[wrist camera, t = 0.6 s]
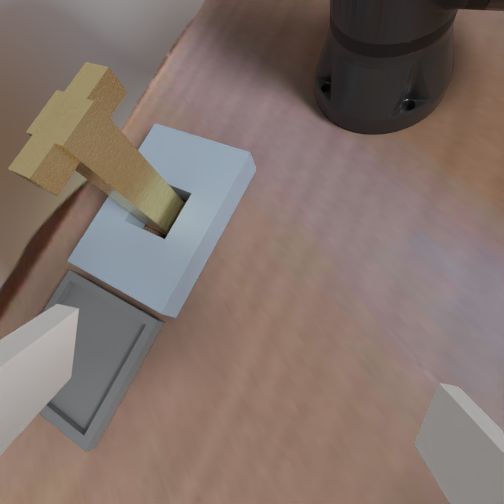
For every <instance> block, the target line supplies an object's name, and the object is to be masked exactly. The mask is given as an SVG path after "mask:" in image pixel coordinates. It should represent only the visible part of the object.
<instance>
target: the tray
mask: <svg viewBox="0 0 504 504" xmlns="http://www.w3.org/2000/svg"><path fill="white" fill-rule="evenodd" d="M56 304H60V305H65V306H70V307H75V308H79V313H78V322H77V331H76V340H75V349H74V357H73V366H72V375H71V378H70V379H69V380H68V382H67V383H66V384H65V385H64V386H63V387H62V388H61V389H60V390H59V391H58V393H57V394H56V395H55V396H54V397H53V398H52V399H51V400H50V401H49V402H48V403H47V405H46V406H45V407H44V408H43V409H42V410H41V411H40V412H39V413H40V414H41V415H42V416H43V417H45V418H46V419H47V420H48V421H49V422H51V423H52V424H53V425H54V426H55V427H56V428H58V429H59V430H60V431H61V432H62V433H64V434H65V435H66V436H67V437H68V438H70V439H71V440H72V441H73V442H74V443H76V444H77V445H78V446H79V447H80V448H82V449H83V450H84V451H85V452H86V451H89V450H91V449H94V448H96V446H97V445H98V443H99V441H100V439H101V437H102V435H103V434H104V432H105V430H106V428H107V426H108V425H109V423H110V421H111V419H112V417H113V415H114V414H115V412H116V410H117V408H118V406H119V404H120V403H121V401H122V399H123V397H124V395H125V394H126V392H127V390H128V388H129V386H130V384H131V383H132V381H133V379H134V377H135V375H136V373H137V372H138V370H139V368H140V366H141V364H142V363H143V361H144V359H145V357H146V355H147V353H148V352H149V350H150V348H151V346H152V344H153V343H154V341H155V339H156V337H157V335H158V333H159V332H160V330H161V328H162V326H163V324H164V322H163V321H161V320H159V319H157V318H156V317H154V316H152V315H150V314H149V313H147V312H145V311H143V310H142V309H140V308H138V307H136V306H135V305H133V304H131V303H129V302H128V301H126V300H124V299H122V298H121V297H119V296H117V295H115V294H114V293H112V292H110V291H108V290H107V289H105V288H103V287H101V286H100V285H98V284H96V283H94V282H93V281H91V280H89V279H87V278H86V277H84V276H82V275H80V274H79V273H76V272H73V271H71V270H69V271H68V272H67V274H66V276H65V277H64V279H63V280H62V282H61V283H60V285H59V287H58V288H57V290H56V291H55V293H54V294H53V296H52V298H51V299H50V301H49V302H48V304H47V305H46V307H45V309H44V310H43V312H45V311H46V310H48V309H49V308H51V307H53V306H54V305H56ZM43 312H42V313H43ZM42 313H41V314H42Z"/></svg>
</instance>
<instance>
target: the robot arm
mask: <svg viewBox="0 0 504 504" xmlns="http://www.w3.org/2000/svg"><path fill="white" fill-rule="evenodd" d="M458 9H470V10H493V11H504V0H330V28H329V31H328V34H327V37H326V40H325V43H324V46H323V49H322V52H321V55H320V58H319V61H318V64H317V67H316V73H315V90H316V99H317V102H318V104H319V107H320V108H321V110H322V112H323V113H324V114H325V115H326V116H327V117H328V118H329V119H330V120H331V121H332V122H334V123H335V124H337V125H339V126H341V127H343V128H345V129H348V130H351V131H354V132H359V133H365V134H383V133H390V132H395V131H399V130H402V129H405V128H408V127H410V126H412V125H414V124H416V123H418V122H420V121H421V120H423V119H424V118H426V117H427V116H428V115H429V114H430V113H431V112H432V111H433V110H434V109H435V108H436V107H437V106H438V104H439V103H440V101H441V100H442V98H443V96H444V94H445V91H446V89H447V86H448V84H449V82H450V79H451V75H452V70H453V22H454V19H455V16H456V13H457V11H458ZM78 313H79V308H75V307H70V306H65V305H60V304H56V305H54V306H53V307H51V308H49V309H48V310H46V311H45V312H43V313H42V314H40V315H38V316H37V317H35V318H34V319H32V320H31V321H29V322H27V323H26V324H24V325H23V326H21V327H20V328H18V329H16V330H15V331H13V332H12V333H10V334H9V335H7V336H5V337H4V338H2V339H1V340H0V455H1V454H2V453H3V452H4V451H5V449H6V448H7V447H8V446H9V445H10V444H11V443H12V442H13V441H14V440H15V439H16V437H17V436H18V435H19V434H20V433H21V432H22V431H23V430H24V429H25V428H26V426H27V425H28V424H29V423H30V422H31V421H32V420H33V419H34V418H35V417H36V416H37V414H38V413H39V412H40V411H41V410H42V409H43V408H44V407H45V406H46V405H47V403H48V402H49V401H50V400H51V399H52V398H53V397H54V396H55V395H56V394H57V393H58V391H59V390H60V389H61V388H62V387H63V386H64V385H65V384H66V383H67V382H68V380H69V379H70V378H71V375H72V366H73V357H74V349H75V340H76V331H77V322H78ZM414 445H415V447H416V449H417V450H418V452H419V454H420V455H421V457H422V459H423V460H424V462H425V463H426V465H427V467H428V468H429V470H430V472H431V473H432V475H433V477H434V478H435V480H436V482H437V483H438V485H439V486H440V488H441V490H442V491H443V493H444V495H445V496H446V498H447V500H448V501H449V503H450V504H504V432H503V431H502V430H501V429H500V428H499V427H498V426H497V425H496V424H495V423H494V422H493V421H492V420H491V419H490V418H489V417H488V416H487V415H486V414H485V413H484V412H483V411H482V410H481V409H480V408H479V407H478V406H477V405H476V404H475V403H474V402H473V401H472V400H471V399H470V398H469V397H468V396H467V395H466V394H465V393H464V392H463V391H462V390H461V389H460V388H459V387H458V386H453V385H448V384H443V383H439V384H438V386H437V389H436V391H435V394H434V396H433V399H432V401H431V404H430V406H429V409H428V411H427V414H426V416H425V419H424V421H423V424H422V426H421V428H420V431H419V433H418V436H417V438H416V441H415V443H414Z"/></svg>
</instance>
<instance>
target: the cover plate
mask: <svg viewBox="0 0 504 504" xmlns="http://www.w3.org/2000/svg"><path fill="white" fill-rule="evenodd" d="M138 151H139V152H140V153H141V154H142V155H143V157H144V158H145V159H146V160H147V161H148V162H149V163H150V164H151V166H152V167H153V168H154V169H155V170H156V171H157V172H158V173H159V175H160V176H161V177H162V178H163V179H164V180H165V181H166V182H167V184H168V185H169V186H170V187H171V188H172V189H173V190H174V191H175V193H176V194H177V195H178V196H179V197H180V198H181V199H183V200H186V201H187V202H186V204H185V206H184V207H183V209H182V211H181V212H180V214H179V216H178V218H177V219H176V221H175V223H174V224H173V226H172V228H171V230H170V231H169V233H168V235H167V237H166V238H165V239H163V238H161V237H159V236H157V235H155V234H152V233H150V232H148V231H146V230H144V229H143V228H144V226H145V225H146V224H145V223H144V222H142V221H141V220H140V219H138V218H137V217H136V216H135V215H133V214H132V213H131V212H129V211H128V210H127V209H125V208H124V207H123V206H122V205H120V204H119V203H118V202H116V201H115V200H114V199H112V198H111V197H110V196H108V198H107V199H106V201H105V202H104V204H103V205H102V207H101V209H100V210H99V212H98V213H97V215H96V216H95V218H94V219H93V221H92V223H91V224H90V226H89V227H88V229H87V230H86V232H85V233H84V235H83V237H82V238H81V240H80V241H79V243H78V244H77V246H76V248H75V249H74V251H73V252H72V254H71V255H70V257H69V258H68V260H67V261H68V262H70V263H72V264H73V265H75V266H77V267H79V268H80V269H82V270H84V271H86V272H88V273H89V274H91V275H93V276H95V277H96V278H98V279H100V280H102V281H104V282H105V283H107V284H109V285H111V286H112V287H114V288H116V289H118V290H120V291H121V292H123V293H125V294H127V295H129V296H130V297H132V298H134V299H136V300H137V301H139V302H141V303H143V304H145V305H146V306H148V307H150V308H152V309H153V310H155V311H157V312H159V313H161V314H164V315H167V316H170V317H174V318H176V317H177V316H178V314H179V312H180V310H181V308H182V306H183V304H184V303H185V301H186V299H187V297H188V295H189V293H190V292H191V290H192V288H193V286H194V284H195V282H196V281H197V279H198V277H199V275H200V273H201V271H202V269H203V268H204V266H205V264H206V262H207V260H208V258H209V257H210V255H211V253H212V251H213V249H214V247H215V246H216V244H217V242H218V240H219V238H220V236H221V234H222V233H223V231H224V229H225V227H226V225H227V223H228V222H229V220H230V218H231V216H232V214H233V212H234V210H235V209H236V207H237V205H238V203H239V201H240V199H241V198H242V196H243V194H244V192H245V190H246V188H247V187H248V185H249V183H250V181H251V179H252V177H253V175H254V174H255V172H256V170H257V169H256V167H255V164H254V161H253V158H252V156H251V153H250V152H247V151H244V150H241V149H238V148H234V147H231V146H228V145H225V144H221V143H218V142H215V141H212V140H208V139H205V138H202V137H198V136H195V135H192V134H189V133H185V132H182V131H179V130H176V129H172V128H169V127H166V126H163V125H159V124H156V123H155V124H154V126H153V128H152V129H151V131H150V132H149V134H148V135H147V137H146V138H145V140H144V142H143V143H142V145H141V146H140V148H139V149H138Z"/></svg>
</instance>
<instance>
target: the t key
mask: <svg viewBox="0 0 504 504" xmlns="http://www.w3.org/2000/svg"><path fill="white" fill-rule="evenodd" d="M126 94H127V91H126V90H125V89H124V87H123V86H122V85H121V83H120V82H119V81H118V79H117V78H116V77H115V76H114V74H113V73H112V71H111V70H110V68H109V67H105V66H101V65H97V64H93V63H89V62H86V63H85V64H84V65H83V67H82V68H81V70H80V71H79V72H78V74H77V75H76V77H75V78H74V79H73V81H72V82H71V83H70V85H69V86H68V87H67V89H66V90H65V91H64V92H62V91H59V90H57V91H56V92H55V93H54V95H53V96H52V97H51V99H50V100H49V101H48V103H47V104H46V105H45V107H44V108H43V110H42V111H41V112H40V114H39V115H38V116H37V118H36V119H35V120H34V122H33V123H32V124H31V126H30V127H29V129H28V130H27V131H26V132H27V133H28V134H29V135H30V136H32V137H31V138H30V139H29V141H28V142H27V143H26V145H25V146H24V148H23V149H22V150H21V152H20V153H19V154H18V156H17V157H16V158H15V160H14V161H13V163H12V164H11V165H10V167H9V168H8V169H9V170H11V171H13V172H14V173H16V174H17V175H19V176H21V177H22V178H24V179H26V180H27V181H29V182H31V183H32V184H34V185H35V186H37V187H40V188H42V189H44V190H46V191H48V192H50V193H52V194H54V195H58V194H59V192H60V191H61V189H62V188H63V186H64V185H65V183H66V182H67V180H68V179H69V178H70V176H71V174H72V173H73V172H74V170H76V171H77V172H79V173H80V174H81V175H82V176H84V177H85V178H86V179H88V180H89V181H90V182H92V183H93V184H94V185H95V186H97V187H98V188H99V189H101V190H102V191H103V192H105V193H106V194H107V195H108V196H110V197H111V198H112V199H114V200H115V201H116V202H118V203H119V204H120V205H122V206H123V207H124V208H125V209H127V210H128V211H129V212H131V213H132V214H133V215H135V216H136V217H137V218H138V219H140V220H141V221H142V222H144V223H145V224H146V225H148V226H149V227H150V228H152V229H154V230H156V231H158V232H161V233H163V234H165V235H168V233H169V231H170V230H171V228H172V226H173V224H174V223H175V221H176V219H177V218H178V216H179V214H180V212H181V211H182V209H183V207H184V206H185V203H184V202H183V200H182V199H181V198H180V197H179V196H178V195H177V194H176V193H175V191H174V190H173V189H172V188H171V187H170V186H169V185H168V184H167V182H166V181H165V180H164V179H163V178H162V177H161V176H160V175H159V173H158V172H157V171H156V170H155V169H154V168H153V167H152V166H151V164H150V163H149V162H148V161H147V160H146V159H145V158H144V157H143V155H142V154H141V153H140V152H139V151H138V150H137V149H136V148H135V146H134V145H133V144H132V143H131V142H130V141H129V140H128V139H127V137H126V136H125V135H124V134H123V133H122V132H121V131H120V130H119V128H118V127H117V126H116V125H115V124H114V123H113V122H112V121H111V119H110V117H111V116H112V114H113V113H114V111H115V110H116V108H117V107H118V105H119V104H120V103H121V101H122V100H123V98H124V97H125V95H126Z"/></svg>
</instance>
